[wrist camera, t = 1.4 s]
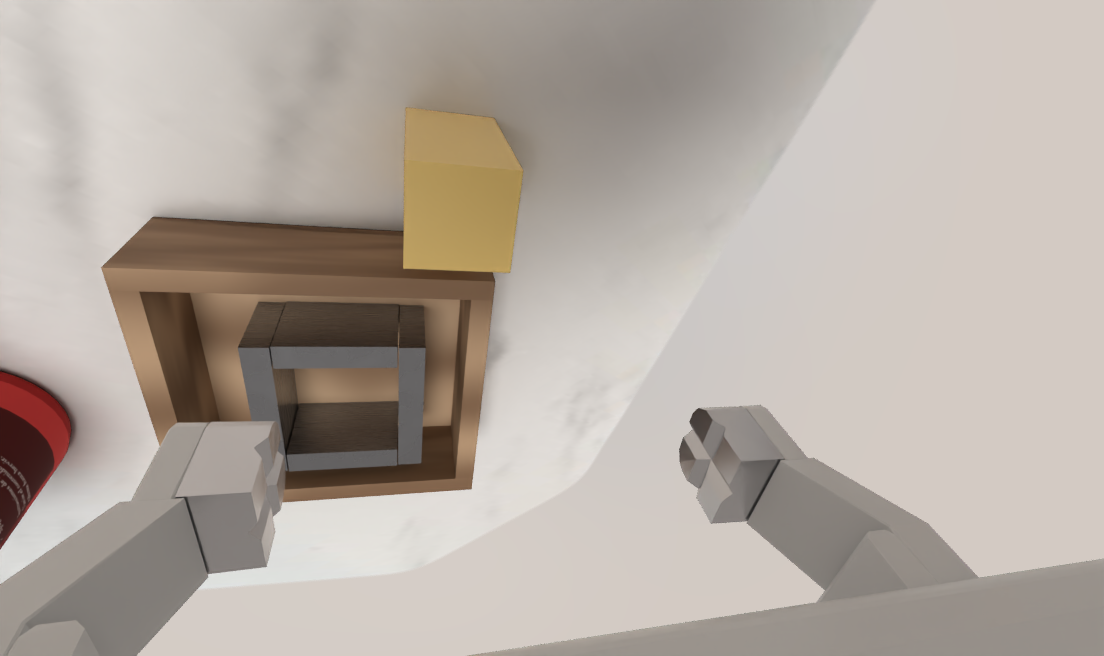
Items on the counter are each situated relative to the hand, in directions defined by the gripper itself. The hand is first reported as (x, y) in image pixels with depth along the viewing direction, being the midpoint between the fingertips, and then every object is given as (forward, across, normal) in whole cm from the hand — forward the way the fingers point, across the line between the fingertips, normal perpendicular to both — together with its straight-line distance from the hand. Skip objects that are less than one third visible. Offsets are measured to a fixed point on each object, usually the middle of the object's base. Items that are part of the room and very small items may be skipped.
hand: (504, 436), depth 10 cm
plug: (+19, 0, 0) cm, 19 cm away
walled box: (+19, +6, +11) cm, 22 cm away
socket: (+18, +5, +12) cm, 22 cm away
